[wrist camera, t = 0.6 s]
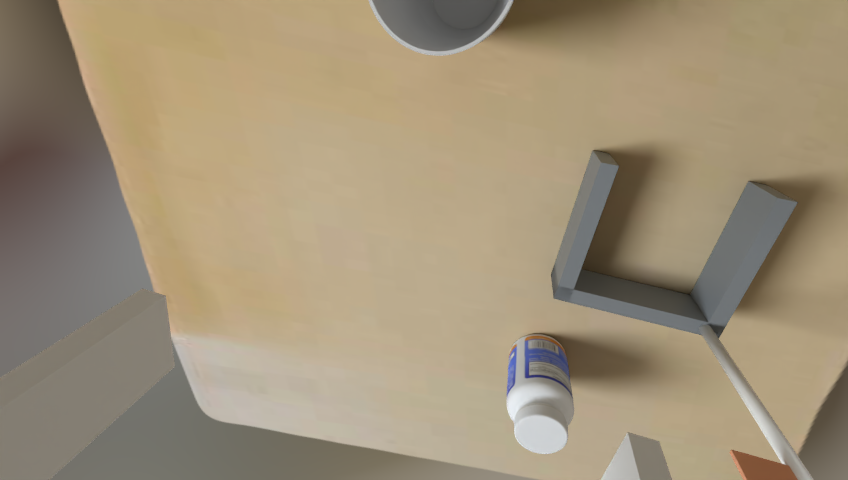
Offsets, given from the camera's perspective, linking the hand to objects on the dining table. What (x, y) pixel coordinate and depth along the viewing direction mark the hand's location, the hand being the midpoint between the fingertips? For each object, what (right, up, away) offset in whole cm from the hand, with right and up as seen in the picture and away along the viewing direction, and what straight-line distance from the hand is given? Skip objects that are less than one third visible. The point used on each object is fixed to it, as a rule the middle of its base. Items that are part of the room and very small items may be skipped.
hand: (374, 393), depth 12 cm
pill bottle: (+12, -7, +29) cm, 32 cm away
